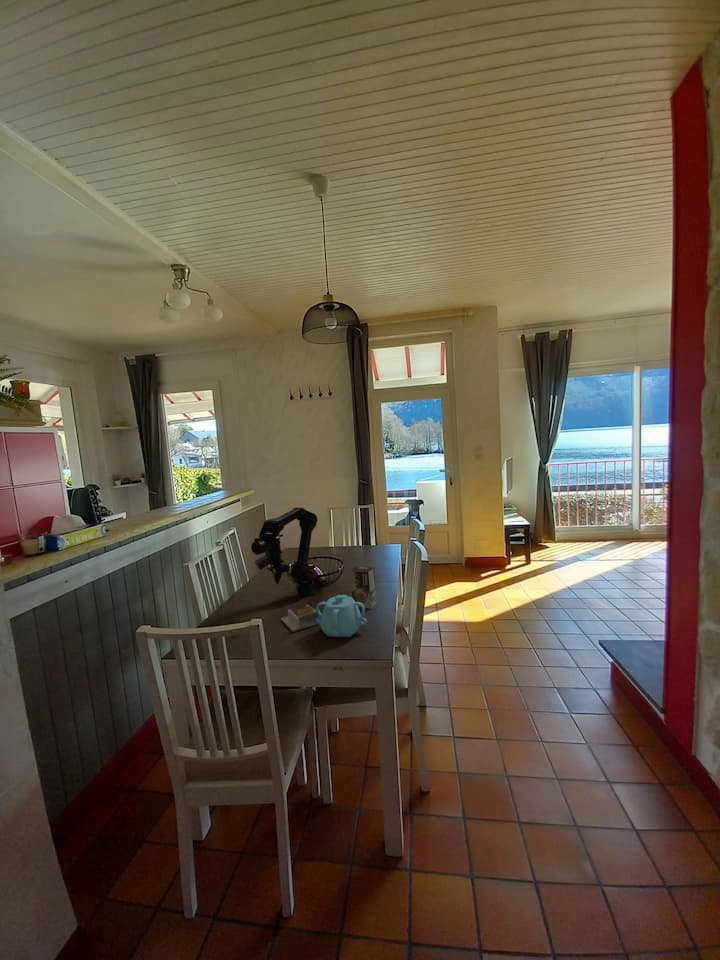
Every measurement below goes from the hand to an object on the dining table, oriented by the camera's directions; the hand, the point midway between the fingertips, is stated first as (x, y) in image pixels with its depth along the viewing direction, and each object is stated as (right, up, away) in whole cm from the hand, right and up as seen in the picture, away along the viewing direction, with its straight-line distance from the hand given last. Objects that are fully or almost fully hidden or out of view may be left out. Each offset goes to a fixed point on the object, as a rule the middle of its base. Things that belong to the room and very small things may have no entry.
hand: (276, 583), depth 168 cm
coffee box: (+38, -9, -1) cm, 39 cm away
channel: (+13, -12, -11) cm, 21 cm away
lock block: (+15, -12, -13) cm, 23 cm away
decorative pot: (+29, -12, -23) cm, 39 cm away
